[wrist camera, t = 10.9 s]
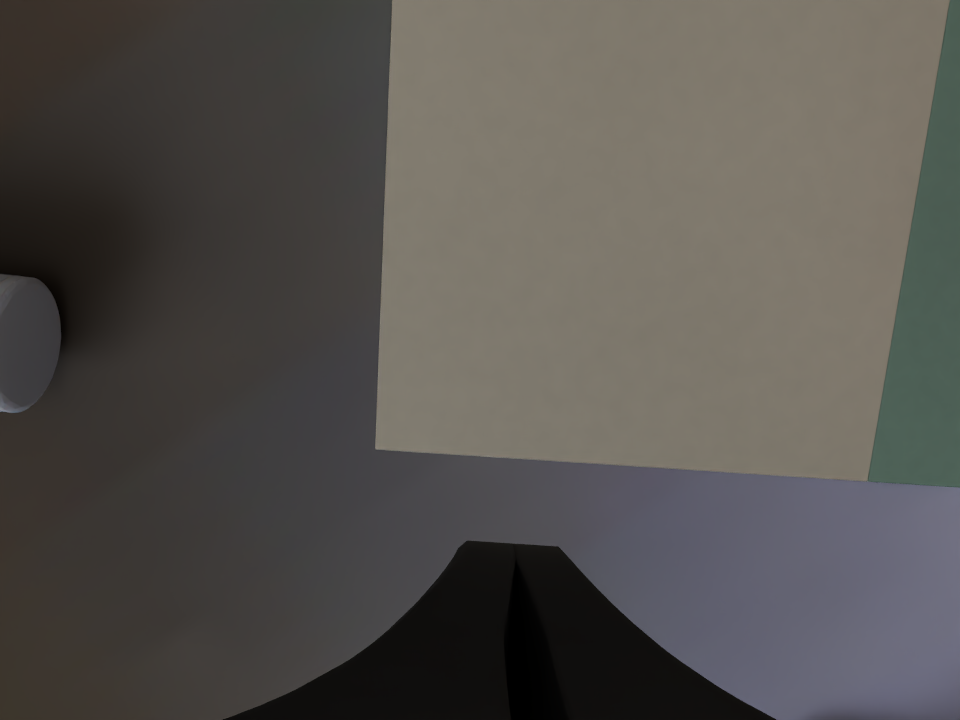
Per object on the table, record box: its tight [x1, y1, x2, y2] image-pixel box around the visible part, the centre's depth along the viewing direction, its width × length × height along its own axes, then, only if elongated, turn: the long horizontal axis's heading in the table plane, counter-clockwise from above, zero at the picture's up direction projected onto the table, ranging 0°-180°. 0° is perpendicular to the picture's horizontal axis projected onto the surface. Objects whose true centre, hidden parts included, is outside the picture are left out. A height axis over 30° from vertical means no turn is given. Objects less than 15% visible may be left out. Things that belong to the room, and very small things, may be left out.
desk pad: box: [375, 0, 960, 487], centre depth 19 cm, size 14×24×1 cm, turn 86°
